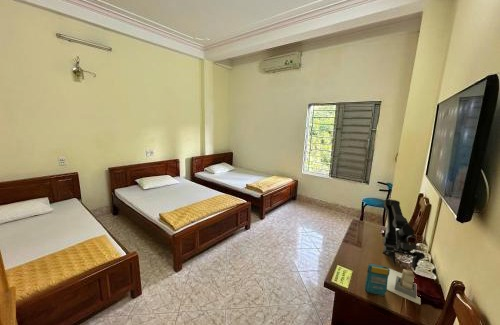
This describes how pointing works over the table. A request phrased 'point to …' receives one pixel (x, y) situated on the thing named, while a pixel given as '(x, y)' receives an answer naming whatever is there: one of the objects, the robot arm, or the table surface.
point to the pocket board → (395, 287)
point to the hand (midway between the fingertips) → (404, 268)
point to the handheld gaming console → (377, 279)
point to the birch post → (407, 279)
